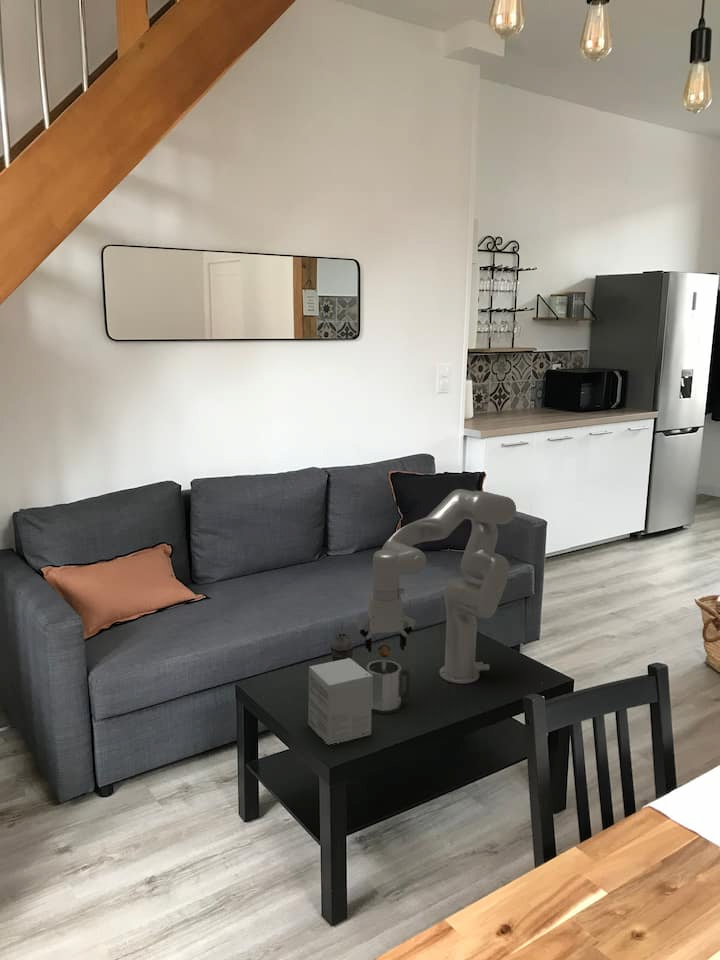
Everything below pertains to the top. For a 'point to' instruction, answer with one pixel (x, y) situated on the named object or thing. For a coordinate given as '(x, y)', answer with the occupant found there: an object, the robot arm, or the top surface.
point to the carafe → (387, 686)
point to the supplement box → (340, 701)
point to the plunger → (384, 654)
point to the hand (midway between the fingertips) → (385, 649)
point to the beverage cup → (341, 646)
